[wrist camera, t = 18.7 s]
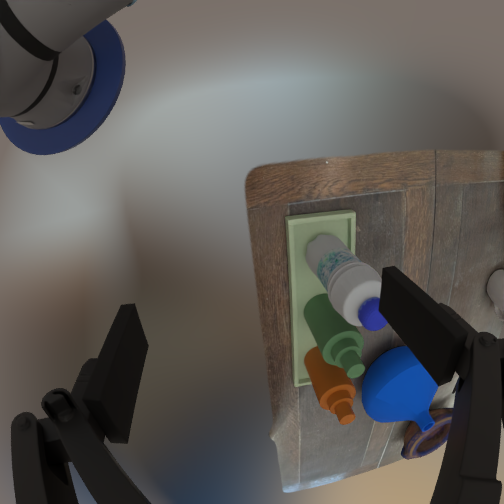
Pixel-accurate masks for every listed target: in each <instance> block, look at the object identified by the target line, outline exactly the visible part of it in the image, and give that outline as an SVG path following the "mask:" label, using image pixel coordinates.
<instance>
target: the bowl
mask: <svg viewBox="0 0 504 504" xmlns="http://www.w3.org/2000/svg"><path fill="white" fill-rule="evenodd" d="M429 414H430V416H431V417H432V419H433V420H434V422H435V424H434V426H433V427H432V428H431V429H429V430H427V431H425V432H422V431H421V429H420V427H419V426H418V424H417V423H416V422H415V421H411V423H410V424H409V426H408V428H407V430H406V432H405V436H404V446H403V448H402V451H401V455H402V457H404V458H405V459H412V458H418V457H422V456H425V455H427V454H429V453H431V452H433V451H434V450H436V449H438V448H439V447H440V446H441V445H443V444H444V443H445V442H446V441H447V440H448V435H449V430H450V425H451V419H452V414H453V408H442V409H434V410H431V411H429Z"/></svg>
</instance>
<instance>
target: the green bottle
mask: <svg viewBox="0 0 504 504" xmlns="http://www.w3.org/2000/svg"><path fill="white" fill-rule="evenodd" d="M304 318H305V320H306V322H307V324H308V326H309V328H310V331H311V333H312V335H313V337H314V339H315V341H316V343H317V346H318V348H319V350H320V352H321V354H322V356H323V359H324V360H325V361H326V362H327V363H328V364H331V365H337V366H338V367H340V368H344V370H345V372H346V374H347V376H348V377H349V378H357V377H359V376H360V375H362V374H363V372H364V370H365V366H364V364H363V363H362V361H361V359H360V357H361V350H362V348H363V344H364V340H363V337H362V335H361V334H360V332H359V331H358V329H357V328H356V326H354V325H352V324H350V323H348V322H347V321H346V320H345V319H344V318H343V317H342V316H341V315H340V314H339V313H338V312H337V311H336V310H335V309H334V308H333V306H332V303H331V302H330V300H329V298H328V294H326V293H325V294H319V295H316V296H314V297H313V298H311V299H310V300H309V301H308V302H307V304H306V305H305V308H304Z"/></svg>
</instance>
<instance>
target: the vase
mask: <svg viewBox="0 0 504 504" xmlns="http://www.w3.org/2000/svg"><path fill="white" fill-rule="evenodd" d="M438 387H439V386H438V385H437V384H436V383H435V381H434V380H433V379H432V377H431V376H430V375H429V373H428V372H427V371H426V370H425V368H424V367H423V366H422V364H421V363H420V362H419V361H418V359H417V358H416V357H415V355H414V354H413V353H412V352H411V350H410V349H409V348H408V347H407V346H401V347H396V348H393V349H391V350H389V351H387V352H385V353H383V354H382V355H381V356H379V357H378V358H377V359H376V360H375V361H374V362H373V363H372V365H371V366H370V367H369V369H368V371H367V373H366V375H365V378H364V381H363V384H362V403H363V406H364V409H365V411H366V413H367V414H368V415H369V416H370V417H371V418H372V419H374V420H375V421H378V422H395V421H407V420H412V421H415V422H416V423H417V424H418V426H419V427H420V429H421V431H422V432H425V431H427V430H429V429H431V428H432V427H433V426H434V424H435V422H434V420H433V419H432V417H431V416H430V414H429V406H430V404H431V402H432V400H433V397H434V395H435V393H436V391H437V389H438Z"/></svg>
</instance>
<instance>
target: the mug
mask: <svg viewBox="0 0 504 504" xmlns="http://www.w3.org/2000/svg"><path fill="white" fill-rule="evenodd" d="M487 293H488V295H489V297H490V298H491V300H492V301H493V302H494V309H495V313H496V315H497V317H498V318H499V319H500V320H502V321H504V315H503V314H502V313H501V311H500V309H501V310H502V311H503V312H504V270H497V271H495V272H494V273H493V274H492V275H491V277H490V279H489V281H488V284H487Z"/></svg>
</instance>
